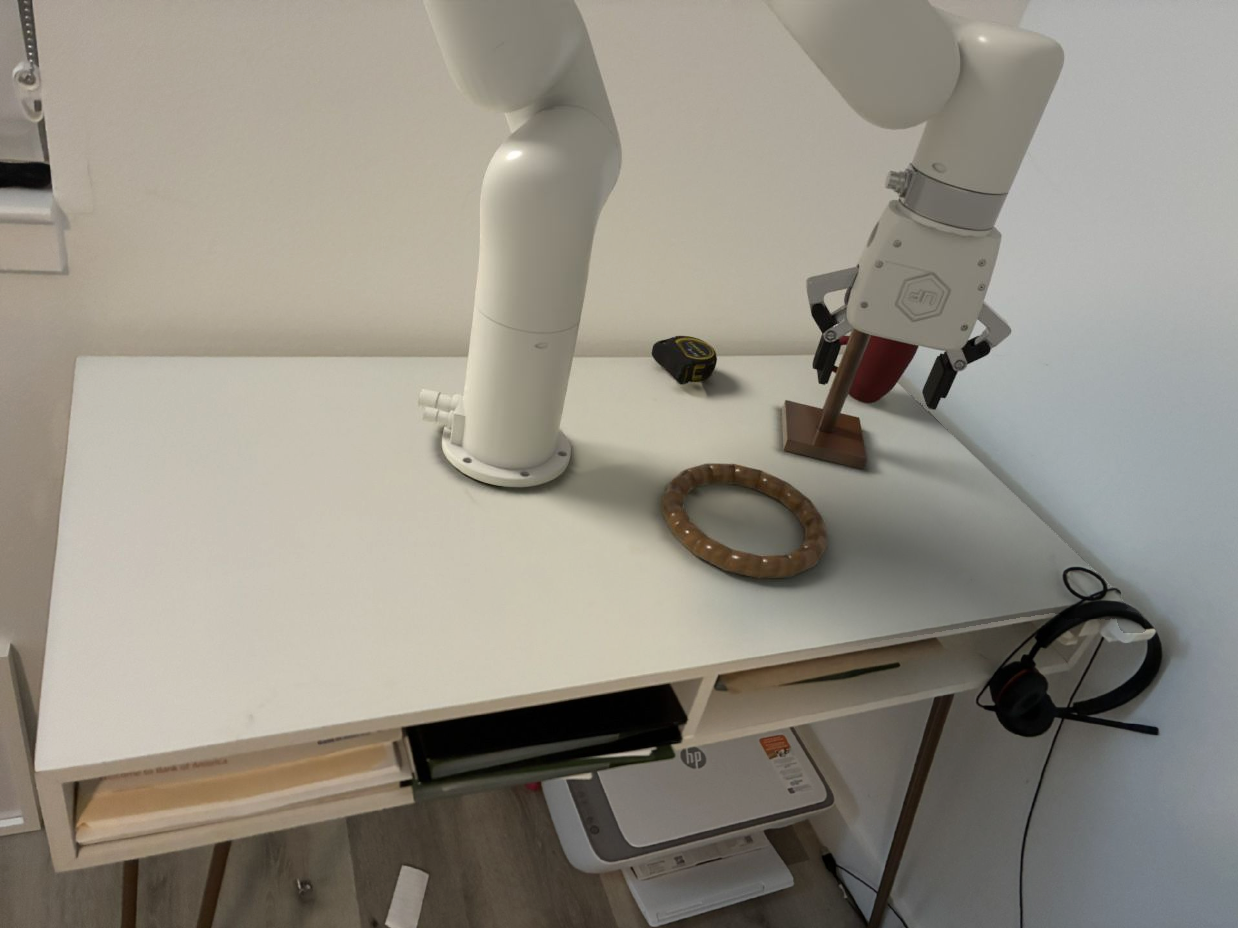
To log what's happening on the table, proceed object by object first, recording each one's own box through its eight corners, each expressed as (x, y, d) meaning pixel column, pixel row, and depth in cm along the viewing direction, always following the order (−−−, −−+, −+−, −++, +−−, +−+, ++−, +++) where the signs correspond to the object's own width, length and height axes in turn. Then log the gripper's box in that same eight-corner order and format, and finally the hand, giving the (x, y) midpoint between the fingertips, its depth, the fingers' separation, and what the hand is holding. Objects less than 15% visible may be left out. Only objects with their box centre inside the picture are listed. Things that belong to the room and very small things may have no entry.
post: (783, 450, 101) (825, 334, 93) (781, 410, 109) (820, 299, 101) (862, 469, 101) (911, 354, 93) (855, 427, 109) (900, 318, 101)
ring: (653, 558, 82) (658, 540, 80) (667, 461, 95) (672, 445, 94) (828, 599, 82) (835, 583, 80) (818, 496, 95) (824, 481, 94)
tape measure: (646, 362, 112) (652, 335, 110) (692, 358, 115) (699, 331, 113) (674, 391, 107) (681, 363, 105) (721, 386, 110) (729, 359, 108)
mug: (824, 407, 111) (852, 334, 106) (804, 374, 118) (829, 303, 112) (903, 415, 114) (934, 344, 108) (879, 382, 120) (907, 313, 115)
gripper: (846, 190, 68) (780, 388, 77) (1073, 242, 68) (979, 433, 77) (837, 162, 74) (777, 349, 84) (1045, 210, 74) (962, 390, 84)
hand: (874, 389), depth 80 cm, fingers open, 9 cm apart
